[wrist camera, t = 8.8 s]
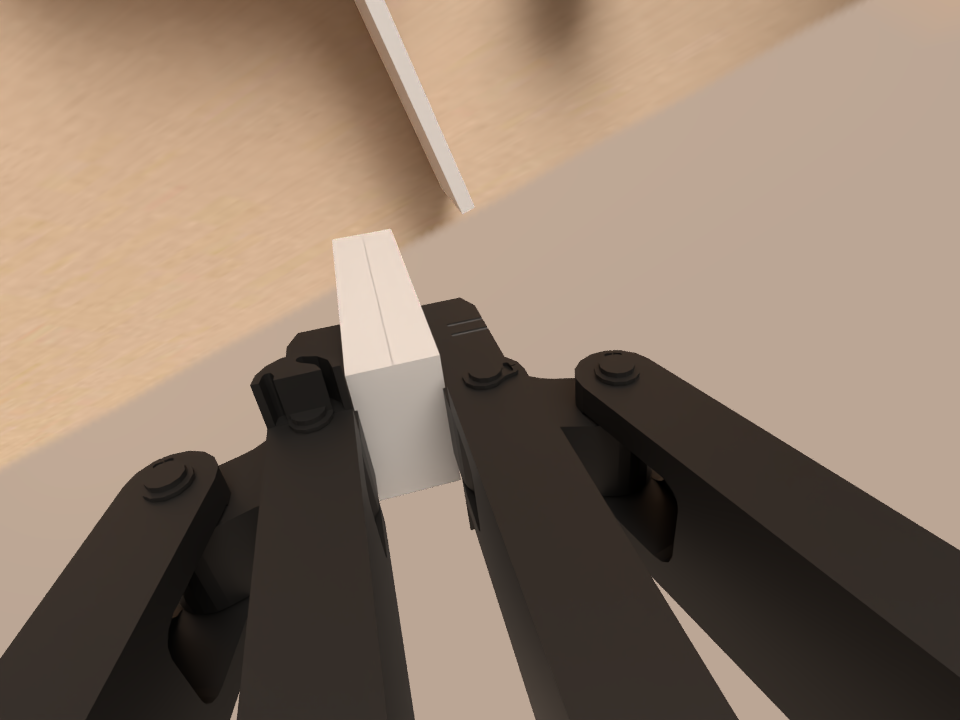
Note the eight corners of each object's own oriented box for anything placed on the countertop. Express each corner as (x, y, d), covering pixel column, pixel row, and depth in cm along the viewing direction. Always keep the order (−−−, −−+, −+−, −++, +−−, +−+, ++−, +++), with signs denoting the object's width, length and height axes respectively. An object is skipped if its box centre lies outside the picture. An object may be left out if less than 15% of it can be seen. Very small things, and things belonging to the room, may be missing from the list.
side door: (308, -89, 28) (307, -114, 23) (329, -100, 28) (334, -128, 23) (438, 189, 36) (459, 215, 31) (455, 180, 36) (478, 205, 31)
